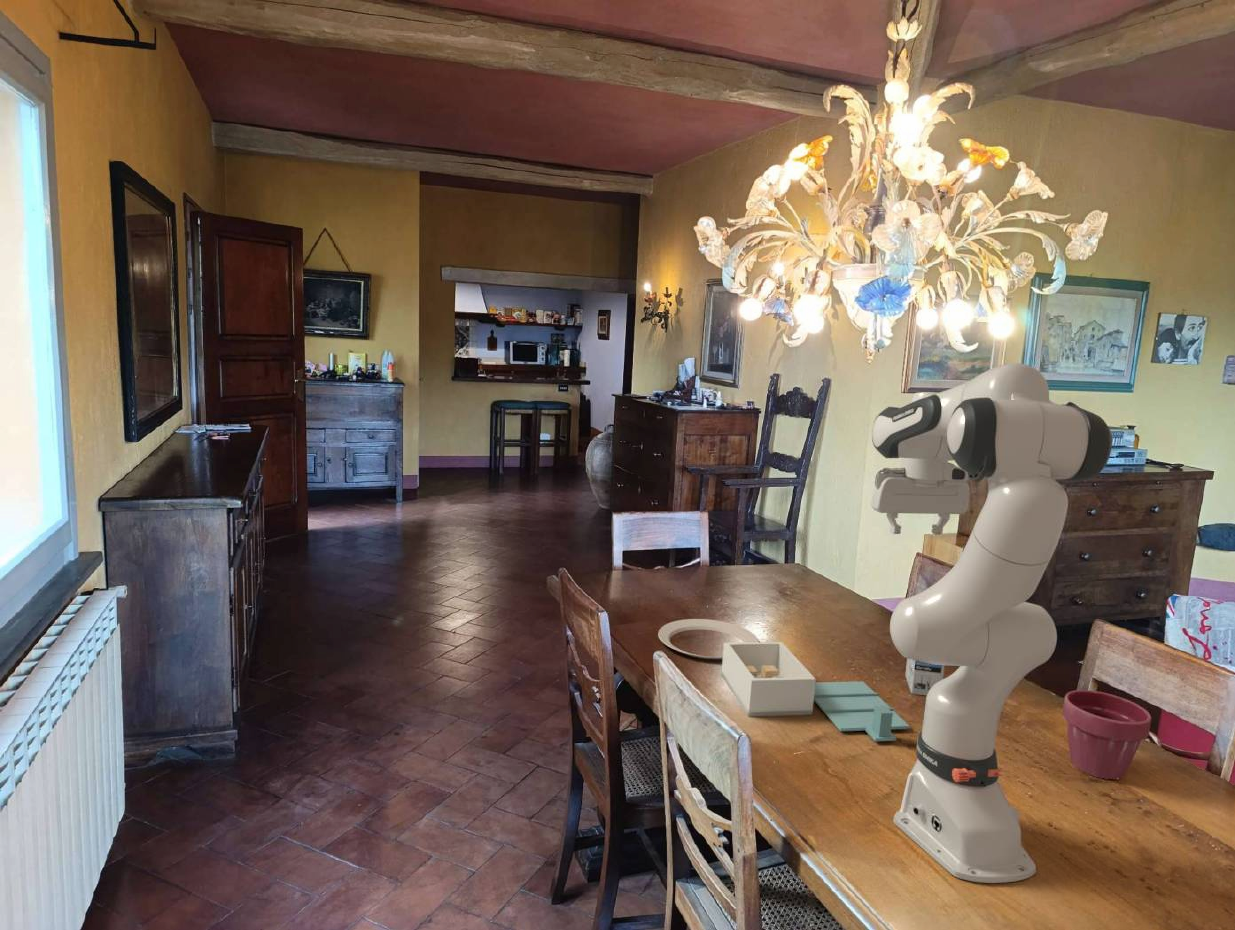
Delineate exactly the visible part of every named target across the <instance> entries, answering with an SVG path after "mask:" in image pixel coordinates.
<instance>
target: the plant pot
mask: <svg viewBox="0 0 1235 930" xmlns="http://www.w3.org/2000/svg"><path fill="white" fill-rule="evenodd" d="M1151 715H1152V714H1150V712H1149V711H1148V710H1147V709H1145V708H1144V707H1142V706H1141V705H1139V704H1138V703H1135V702H1133V701H1131V700H1129V699H1126V698H1124V697H1122V696H1118V695H1114V694H1111V693H1107V692H1102V691H1097V690H1089V689H1078V690H1075V689H1074V690H1072V691H1069V692H1067V693H1066V694H1065V695H1064V700H1063V705H1062V716H1063V718H1064V719H1065V720H1066V726H1067V739H1068V749H1069V758H1070V763H1071V764H1072V765H1073V766H1074V767H1075V768H1076V769H1078V770H1079V769H1080V770H1079V771H1081V772H1082V771H1083V773H1084V772H1085V773H1084V774H1087V775H1089V774H1090V775H1089V776H1092V777H1094V778H1098V777H1100V778H1099V779H1102V778H1105V779H1104V780H1107V779H1117V778H1121V777H1123V776H1124V777H1125V774H1126V772H1127V771H1128V769H1129V767H1130V765H1131V762H1132V761H1133V758H1134V756H1135V755H1136V753H1137V750H1138V748H1139V746H1140V744H1141V742H1142V741H1143V740H1145V739H1147V738H1148V736H1149V733H1150V729H1151V723H1152V716H1151ZM1124 777H1123V778H1124ZM1121 779H1122V778H1121Z"/></svg>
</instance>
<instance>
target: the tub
mask: <svg viewBox="0 0 1235 930" xmlns="http://www.w3.org/2000/svg"><path fill="white" fill-rule="evenodd" d="M722 657H723V659H722V662H721V674H720V675H721V677H722V679H723V680H724V682H725V683H726V685H727V686H728V688H729V689H730V691H731V693H732V694H733V695H734V697H735V699H736V700H737V701H738V703H739V704H740V706H741V707H742V709H743V711H744V712H745V713H746V714H747V716H748V717H776V716H777V717H778V716H779V717H780V716H781V717H782V716H783V717H784V716H809V715H810V716H811V715H812V716H813V710H814V703H815V701H814V692H815V683H817V682H816V681H817V679H816V677H814V675H813V674H812V673H811V672H810V671H809V670H808V668H806V667H805V666H804V665H803V663H802V662H801V661H800V660H799V659H798V658H797V657H796V656H795V654H793V653H792V651H791V650H790V649H789V648H788V647H787V646H786V645H785V644H784V642H782V641H774V642H773V641H769V642H768V641H763V642H761V641H760V642H747V643H744V642H723V650H722Z"/></svg>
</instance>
